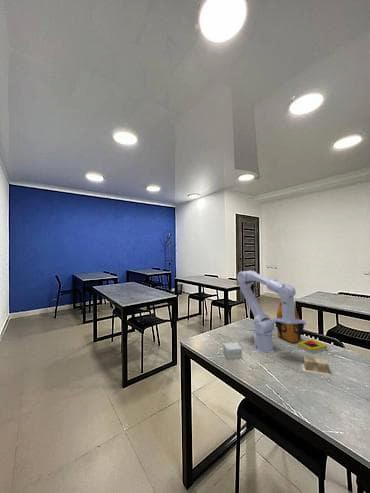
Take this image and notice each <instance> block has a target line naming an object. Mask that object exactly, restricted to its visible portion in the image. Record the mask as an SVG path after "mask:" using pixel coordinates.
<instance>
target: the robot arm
mask: <svg viewBox="0 0 370 493" xmlns="http://www.w3.org/2000/svg"><path fill="white" fill-rule="evenodd" d="M236 280H237V282H238V284H239V289H240V291H241V293H242V295H243V297H244V299H245V301H246V303H247V305H248V307H249V309H250V311H251V313H252V314H253V317H254V319H253V321H252V322H253V325H254V329H255V331H254V332H253V341H254V342H253V346H254V347H253V348H254V351H255V352H256V351H257V352H262V353H270V354H274V345H273V331H274V329H275V327H276V328H277V330H278V331H279V333H280V336H281V337H280V336H279V337H280V339H283V338H282V330H281V323H285V324H297V326H298V340H300V337H301V338H302V333H303V331H304V328H305V326H307V320H305V319H300V318H299V319H295V308H294V304H295V296H296V293H297V292H296V288H295V287H294V286H292V285H290V284H288V285H286V284H285V283H281V282H279V281H278V279H275V278H271V279H269V278H266V277H264V276H263V275H261V274H259V273H257V271H254V270H251V269H250V270H245V271H242V270H241V271H239V272H238V273H237V275H236ZM254 282H257V283H260V284H262V285H264V286H266V288H267V290H270V291H272V292H273V293H275V294H278V296H279V298H280V300H281V305H282V318H277V317H276V318H275V317H274V318H272V319H271V318H270V317H269V315H268V314H266V313H265V312H264V311H263V309H262V306H261V305H260V303H259V302H258V300H257V298H256V296H255V294H254V291H253V289H251V287H252V284H253V283H254ZM278 331H277V332H278Z"/></svg>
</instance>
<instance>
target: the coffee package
mask: <svg viewBox="0 0 370 493" xmlns="http://www.w3.org/2000/svg"><path fill="white" fill-rule="evenodd" d="M278 302H279V303H278V304H279V306H278V307H277V311H276V318H282V305H281V299H280V300H279V301H278ZM294 308H295V319H299V320H300V316H299V312H298V310H297V307H296V305H295V303H294ZM281 330H282V339H284V340H285V341H288V342H290V343H291V344H295V343H298V342H302V336H301V337H300V340H298V326H297V324H285V323H281ZM276 332H277V336H278V337H279V338H281V336H280V333H279V331H278V329H277V331H276Z"/></svg>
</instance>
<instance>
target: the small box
mask: <svg viewBox="0 0 370 493" xmlns="http://www.w3.org/2000/svg"><path fill="white" fill-rule="evenodd" d="M222 345H223V346H222V347H223V354H224V353H225V354H224V355H226V356H225V358H226V359H227V360H238V359H239V360H240V359H243V348H242V347H241V346H240V345H239V343H238V342H237V341H236V342H225V343H223V344H222Z"/></svg>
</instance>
